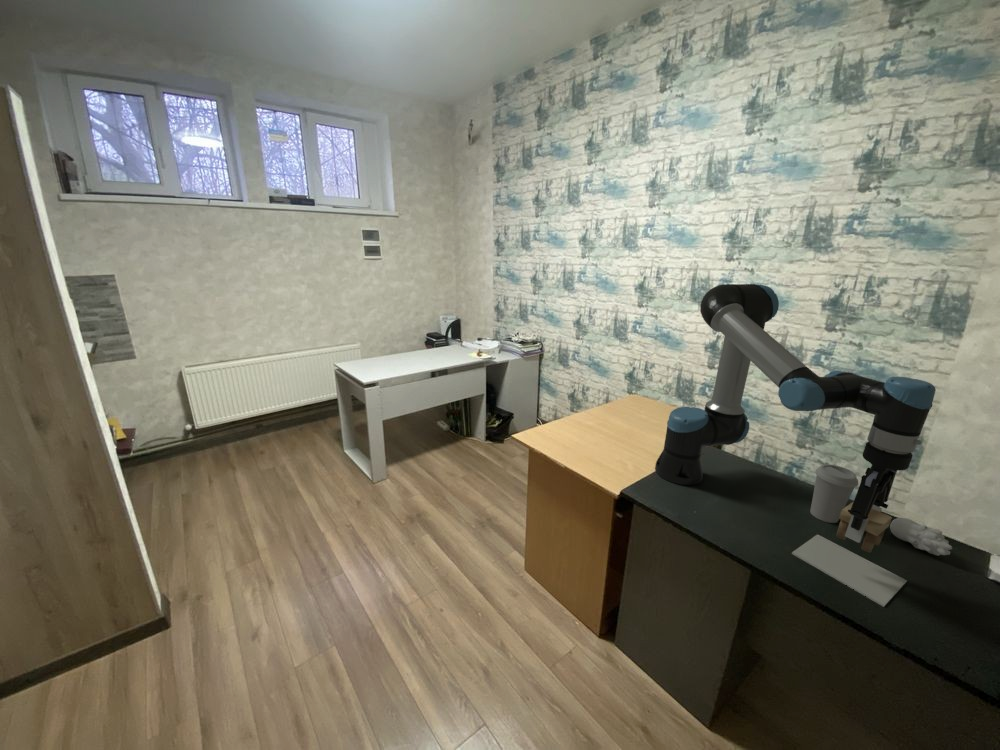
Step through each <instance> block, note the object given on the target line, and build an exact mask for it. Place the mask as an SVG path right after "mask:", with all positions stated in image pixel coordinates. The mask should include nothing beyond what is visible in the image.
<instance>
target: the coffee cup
mask: <svg viewBox="0 0 1000 750" xmlns="http://www.w3.org/2000/svg"><path fill="white" fill-rule="evenodd" d="M814 473H815V475H816V476H815V483H814V489H813V495H812V499H811V500H812V501H811V505H810V511H809V512H810V514H811V515H812V516H813V517H814V518H816V519H818V520H819V521H822V522H825V523H830V524H836V523H838V522H839V521H840V519H839V517H840V514H841V510H842V509H843V508H845V507H846V506H847V504H848V502H849V499H851V496H852V494H853V492H854V490H855V488H856V487H859V480H858V478H857V475H856V473H855V472H853V471H851V470H850V469H848V468H845V467H843V466H839V465H837V464H836V465H835V464H829V463H828V464H827V463H826V464H821V465H819V467H817V468H816V469H815V472H814Z"/></svg>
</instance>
